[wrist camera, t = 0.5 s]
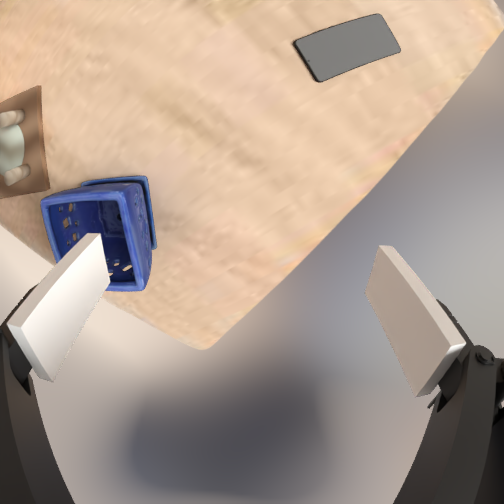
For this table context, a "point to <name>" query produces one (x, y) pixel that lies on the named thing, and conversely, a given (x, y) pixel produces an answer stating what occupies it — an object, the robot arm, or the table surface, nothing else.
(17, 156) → the cradle
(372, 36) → the smartphone
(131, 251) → the flower pot
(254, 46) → the table surface
